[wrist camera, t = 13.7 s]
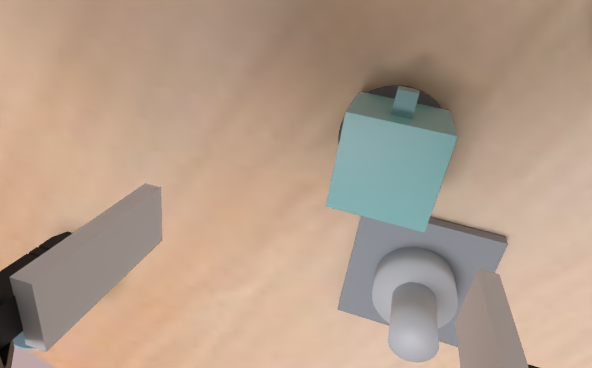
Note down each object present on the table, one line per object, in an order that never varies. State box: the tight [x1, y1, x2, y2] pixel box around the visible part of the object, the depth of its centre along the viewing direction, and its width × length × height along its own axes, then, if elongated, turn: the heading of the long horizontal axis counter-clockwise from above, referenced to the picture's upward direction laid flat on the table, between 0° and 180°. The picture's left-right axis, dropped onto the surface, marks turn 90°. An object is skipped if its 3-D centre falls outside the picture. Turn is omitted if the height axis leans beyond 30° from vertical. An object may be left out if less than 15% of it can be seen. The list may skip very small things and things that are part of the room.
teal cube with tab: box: [326, 86, 458, 233], centre depth 29 cm, size 9×7×7 cm
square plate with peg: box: [338, 216, 508, 362], centre depth 33 cm, size 12×12×9 cm
